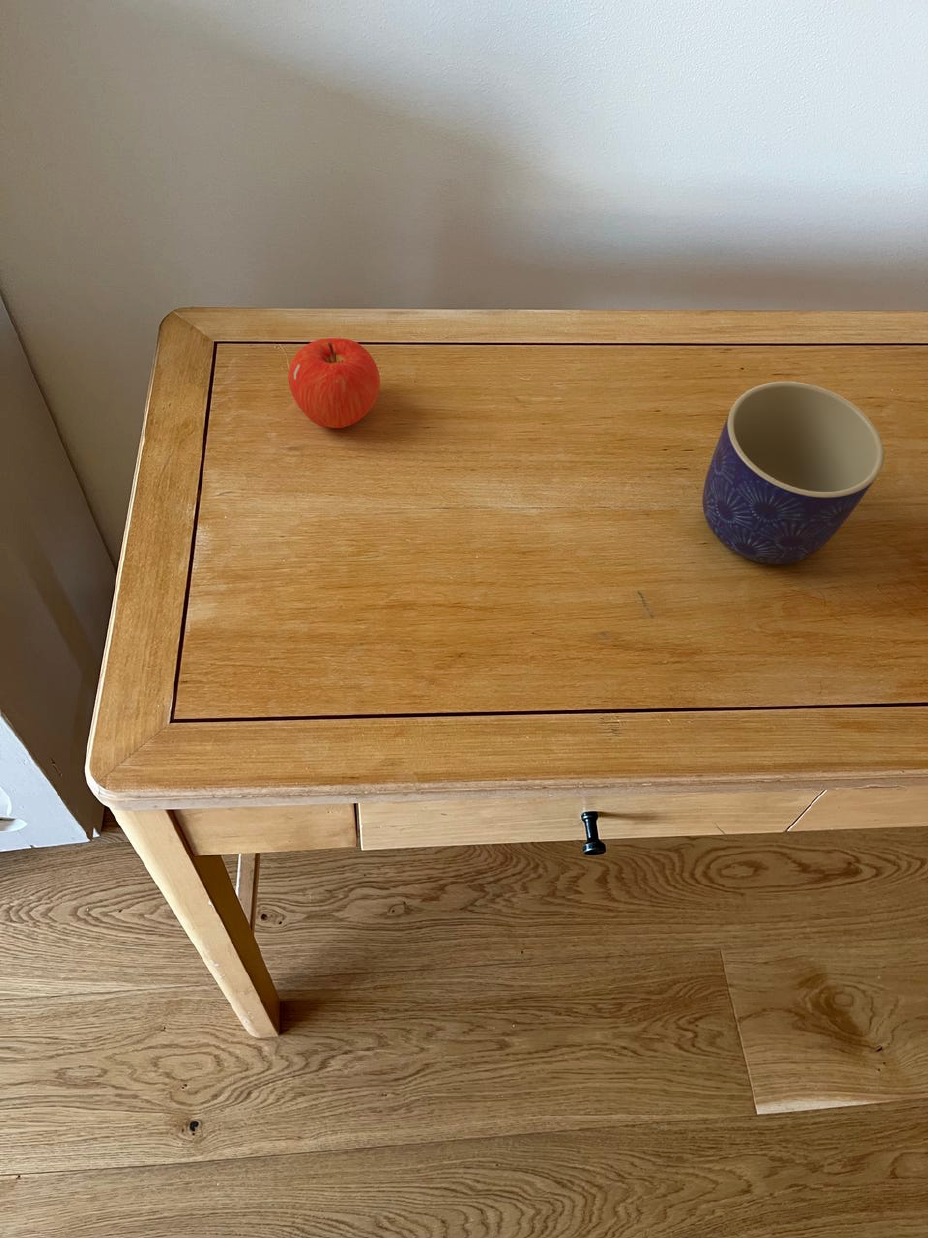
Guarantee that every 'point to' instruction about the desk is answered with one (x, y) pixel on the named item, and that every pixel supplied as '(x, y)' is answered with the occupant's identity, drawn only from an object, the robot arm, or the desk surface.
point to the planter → (788, 471)
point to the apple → (334, 381)
